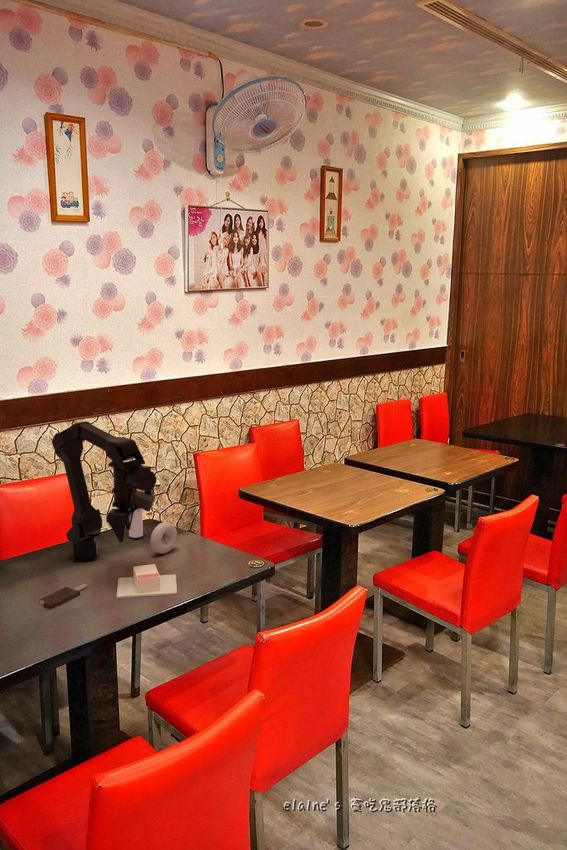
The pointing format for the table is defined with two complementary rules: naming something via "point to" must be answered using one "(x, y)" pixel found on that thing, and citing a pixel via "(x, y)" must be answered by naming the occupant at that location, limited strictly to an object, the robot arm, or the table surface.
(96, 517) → the robot arm
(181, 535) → the table surface
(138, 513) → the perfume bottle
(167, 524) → the donut
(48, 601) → the ice cream bar
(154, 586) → the card deck
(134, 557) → the table surface
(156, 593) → the mat
